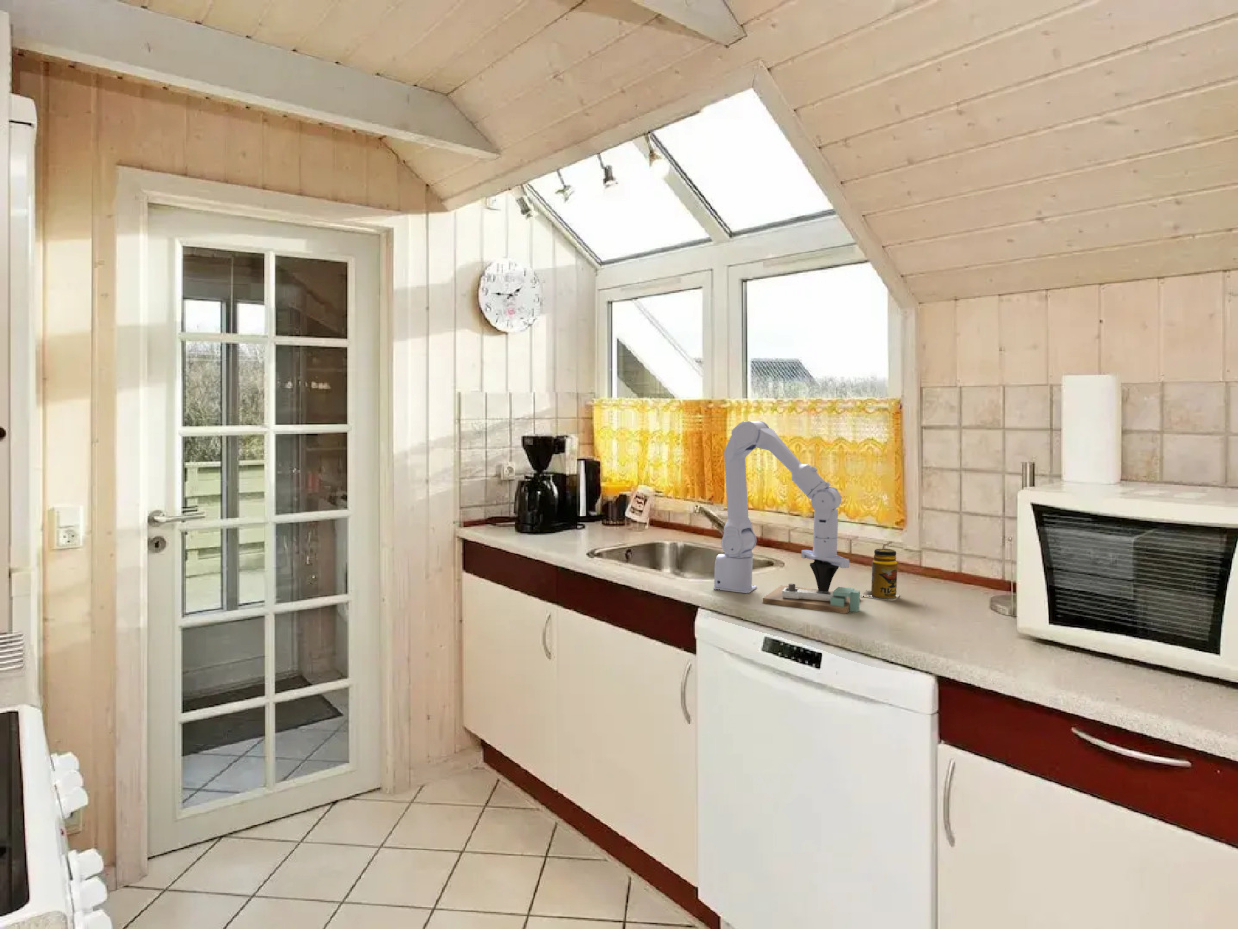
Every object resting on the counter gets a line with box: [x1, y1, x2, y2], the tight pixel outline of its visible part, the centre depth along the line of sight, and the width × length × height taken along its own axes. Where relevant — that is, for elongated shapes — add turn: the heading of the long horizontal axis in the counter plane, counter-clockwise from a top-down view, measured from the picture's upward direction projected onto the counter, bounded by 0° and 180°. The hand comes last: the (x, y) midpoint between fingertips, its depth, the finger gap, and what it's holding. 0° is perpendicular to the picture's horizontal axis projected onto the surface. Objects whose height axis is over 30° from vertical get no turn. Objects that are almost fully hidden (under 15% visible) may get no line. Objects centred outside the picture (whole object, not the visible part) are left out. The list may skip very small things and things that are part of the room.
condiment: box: [860, 548, 900, 602], centre depth 199 cm, size 7×8×12 cm
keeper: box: [830, 586, 861, 613], centre depth 185 cm, size 6×6×4 cm
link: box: [782, 588, 847, 603], centre depth 189 cm, size 15×4×2 cm, turn 70°
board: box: [762, 583, 850, 614], centre depth 193 cm, size 20×16×4 cm
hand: (823, 591), depth 193 cm, fingers closed
